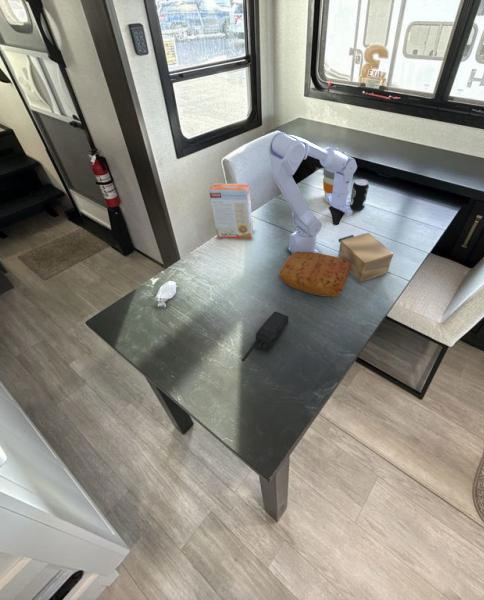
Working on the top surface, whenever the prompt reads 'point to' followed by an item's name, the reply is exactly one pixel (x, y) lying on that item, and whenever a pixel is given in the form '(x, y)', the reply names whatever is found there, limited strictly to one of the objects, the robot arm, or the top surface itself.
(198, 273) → the top surface
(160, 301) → the bird figurine
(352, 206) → the beverage can
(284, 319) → the walkie-talkie
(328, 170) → the reusable coffee cup
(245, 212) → the cracker box
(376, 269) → the cabinet
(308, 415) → the top surface
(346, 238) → the drawer
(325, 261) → the cuneiform tablet
